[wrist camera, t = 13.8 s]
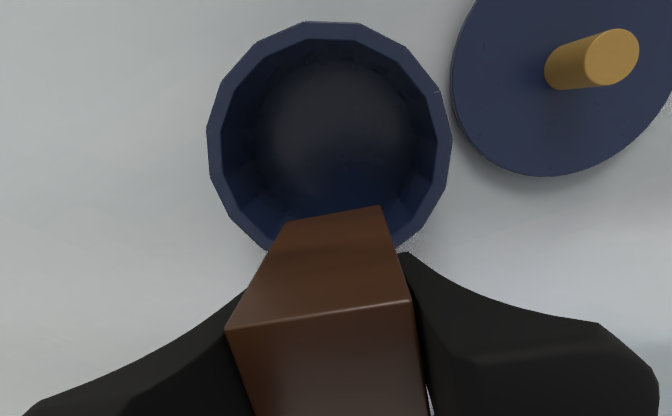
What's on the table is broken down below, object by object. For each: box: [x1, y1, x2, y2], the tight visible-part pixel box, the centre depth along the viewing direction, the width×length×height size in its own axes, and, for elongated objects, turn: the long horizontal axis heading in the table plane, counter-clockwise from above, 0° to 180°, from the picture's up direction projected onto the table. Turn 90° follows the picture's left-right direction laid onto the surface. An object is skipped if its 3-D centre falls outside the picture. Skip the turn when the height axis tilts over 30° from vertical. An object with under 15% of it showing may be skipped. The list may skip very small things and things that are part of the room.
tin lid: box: [450, 0, 672, 177], centre depth 16 cm, size 12×12×4 cm
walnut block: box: [224, 205, 431, 416], centre depth 11 cm, size 4×4×7 cm
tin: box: [206, 21, 453, 251], centre depth 17 cm, size 11×11×6 cm
